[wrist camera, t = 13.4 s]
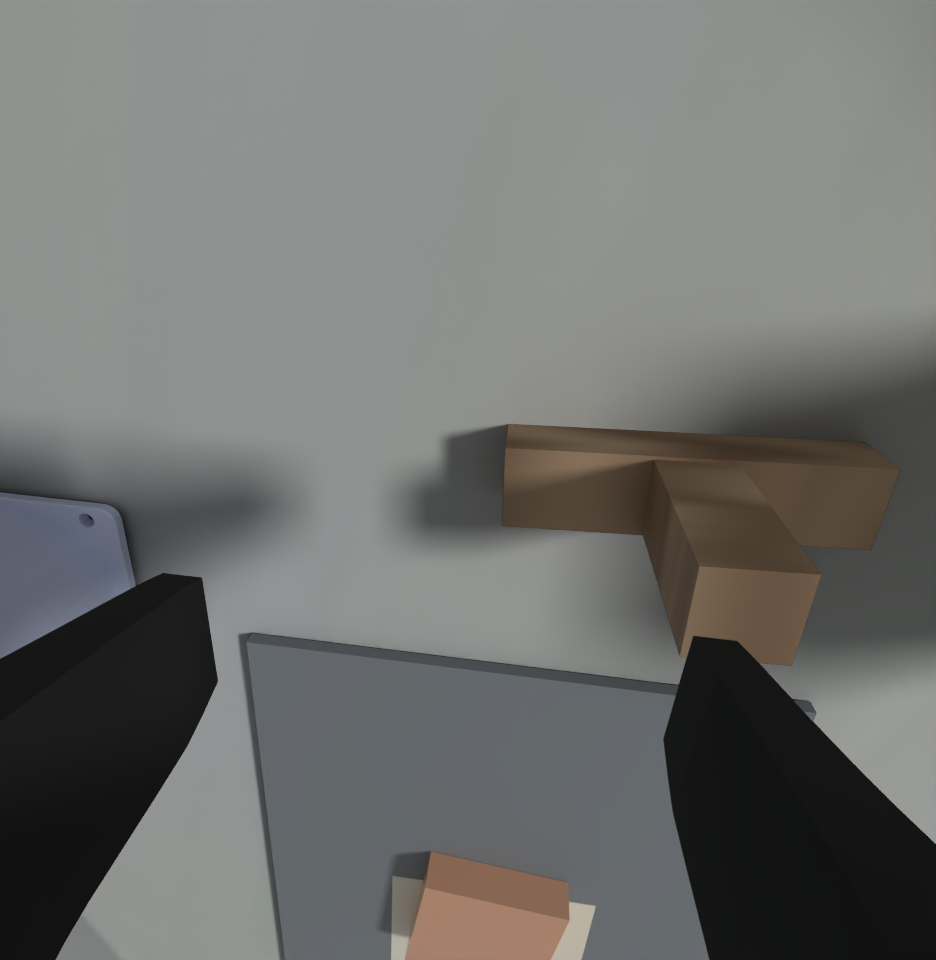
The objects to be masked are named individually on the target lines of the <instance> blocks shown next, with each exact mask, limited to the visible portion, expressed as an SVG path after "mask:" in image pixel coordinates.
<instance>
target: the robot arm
mask: <svg viewBox="0 0 936 960" xmlns="http://www.w3.org/2000/svg"><path fill="white" fill-rule="evenodd" d="M87 514H88V515H90V516H91V517H92V518H93V520H94V521H92V520H91V519H90V518H89V517H88V516H87ZM217 682H218V679H217V672H216V666H215V659H214V653H213V646H212V640H211V633H210V627H209V620H208V614H207V607H206V601H205V594H204V588H203V581H202V578H200V577H191V576H183V575H175V574H166V573H162V574H160V575H158V576H156V577H153V578H151V579H149V580H147V581H145V582H143V583H141V584H139V585H137V586H136V584H135V579H134V575H133V570H132V565H131V561H130V556H129V551H128V546H127V542H126V537H125V532H124V528H123V523H122V518H121V516H120V514H119V512H118V511H117V510H116V509H115V508H113V507H112V506H110V505H106V504H100V503H91V502H82V501H73V500H64V499H55V498H46V497H37V496H28V495H19V494H10V493H1V492H0V960H55V959H56V958H57V956H58V954H59V952H60V950H61V948H62V946H63V945H64V943H65V941H66V939H67V938H68V936H69V934H70V932H71V931H72V929H73V927H74V926H75V924H76V922H77V921H78V919H79V917H80V916H81V914H82V912H83V910H84V909H85V907H86V905H87V904H88V902H89V900H90V899H91V897H92V896H93V894H94V893H95V891H96V889H97V888H98V886H99V885H100V883H101V882H102V880H103V879H104V877H105V875H106V874H107V872H108V871H109V869H110V868H111V866H112V864H113V863H114V861H115V860H116V858H117V857H118V855H119V853H120V852H121V850H122V849H123V847H124V846H125V844H126V842H127V841H128V839H129V838H130V836H131V835H132V833H133V831H134V830H135V828H136V827H137V825H138V824H139V822H140V821H141V819H142V817H143V816H144V814H145V813H146V811H147V810H148V808H149V806H150V805H151V803H152V802H153V800H154V799H155V797H156V795H157V794H158V792H159V791H160V789H161V787H162V786H163V784H164V783H165V781H166V779H167V778H168V776H169V775H170V773H171V772H172V770H173V768H174V767H175V765H176V764H177V762H178V760H179V759H180V757H181V755H182V754H183V752H184V750H185V749H186V747H187V746H188V744H189V742H190V740H191V738H192V735H193V733H194V731H195V729H196V727H197V725H198V723H199V721H200V719H201V717H202V715H203V713H204V711H205V709H206V706H207V704H208V702H209V700H210V698H211V695H212V693H213V691H214V689H215V687H216V684H217ZM663 741H664V750H665V758H666V767H667V775H668V783H669V790H670V797H671V804H672V811H673V815H674V820H675V824H676V828H677V832H678V836H679V840H680V845H681V849H682V853H683V857H684V861H685V865H686V869H687V873H688V877H689V881H690V885H691V889H692V893H693V897H694V901H695V905H696V909H697V913H698V917H699V921H700V925H701V929H702V933H703V937H704V941H705V944H706V948H707V952H708V956H709V960H936V844H935V843H934V842H933V841H932V840H931V839H930V838H929V837H928V836H927V835H926V834H925V833H923V832H922V831H921V830H920V829H919V828H918V827H917V826H916V825H915V824H914V823H913V822H912V821H911V820H910V819H909V818H908V817H907V816H906V815H905V814H903V813H902V812H901V811H900V810H899V809H898V808H897V807H896V806H895V805H894V804H893V803H892V802H891V801H890V800H889V799H888V798H887V797H886V796H885V795H884V794H883V793H882V792H881V791H880V790H879V789H878V788H877V787H876V786H875V785H874V784H873V783H872V782H871V781H870V780H869V779H868V778H867V777H866V776H865V775H864V774H863V773H862V772H861V771H860V770H859V769H858V768H857V767H856V766H855V765H854V764H853V763H852V762H851V761H850V760H849V759H848V758H847V757H846V756H845V754H844V753H843V752H842V751H841V750H840V749H839V748H838V747H837V746H836V745H835V744H834V743H833V742H832V741H831V740H830V739H829V738H828V737H827V736H826V735H825V734H824V733H823V732H822V730H821V729H820V728H819V727H818V726H817V725H816V724H815V723H814V722H813V721H812V720H811V719H810V718H809V717H808V716H807V715H806V713H805V712H804V711H803V710H802V709H801V708H800V707H799V706H798V705H797V704H796V703H795V702H794V701H793V699H792V698H791V697H790V696H789V695H788V694H787V693H786V692H785V691H784V690H783V689H782V688H781V687H780V685H779V684H778V683H777V682H776V681H775V680H774V679H773V678H772V677H771V676H770V675H769V674H768V672H767V671H766V670H765V669H764V668H763V667H762V666H761V665H760V664H759V663H758V662H757V661H756V660H755V658H754V657H753V656H752V655H751V654H750V653H749V652H748V651H747V650H746V649H745V648H744V647H743V646H742V645H741V644H740V643H739V642H738V641H734V640H726V639H717V638H709V637H700V636H693V638H692V642H691V645H690V648H689V652H688V655H687V659H686V662H685V666H684V669H683V673H682V676H681V679H680V683H679V686H678V690H677V693H676V697H675V700H674V704H673V707H672V710H671V714H670V717H669V721H668V724H667V728H666V731H665V734H664V738H663Z"/></svg>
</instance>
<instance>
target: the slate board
mask: <svg viewBox="0 0 936 960" xmlns="http://www.w3.org/2000/svg"><path fill="white" fill-rule="evenodd" d="M246 644H247V652H248V660H249V668H250V677H251V685H252V693H253V701H254V709H255V718H256V726H257V734H258V742H259V750H260V759H261V767H262V775H263V783H264V791H265V800H266V808H267V816H268V824H269V833H270V841H271V849H272V857H273V865H274V874H275V882H276V890H277V898H278V906H279V915H280V923H281V931H282V939H283V947H284V956H285V960H405V955H406V949H407V944H408V938H409V932H410V927H411V923H412V920H413V916H414V912H415V909H416V905H417V901H418V898H419V894H420V890H421V886H422V883H423V879H424V875H425V872H426V868H427V864H428V861H429V857H430V853H431V852H436V853H440V854H444V855H449V856H453V857H458V858H462V859H466V860H471V861H475V862H480V863H484V864H488V865H493V866H497V867H502V868H506V869H510V870H515V871H519V872H524V873H528V874H532V875H537V876H541V877H546V878H550V879H554V880H559V881H563V882H568V895H569V917H570V921H569V923H568V925H567V927H566V929H565V931H564V933H563V935H562V938H561V940H560V942H559V944H558V946H557V948H556V950H555V952H554V954H553V956H552V958H551V960H709V956H708V952H707V948H706V944H705V941H704V937H703V933H702V929H701V925H700V921H699V917H698V913H697V909H696V905H695V901H694V897H693V893H692V889H691V885H690V881H689V877H688V873H687V869H686V865H685V861H684V857H683V853H682V849H681V845H680V840H679V836H678V832H677V828H676V824H675V820H674V815H673V811H672V804H671V797H670V790H669V783H668V775H667V767H666V758H665V750H664V741H663V738H664V734H665V731H666V728H667V724H668V721H669V717H670V714H671V710H672V707H673V704H674V700H675V697H676V693H677V690H678V686H677V685H669V684H661V683H653V682H645V681H637V680H628V679H620V678H612V677H604V676H596V675H588V674H580V673H572V672H564V671H555V670H547V669H539V668H531V667H523V666H515V665H507V664H499V663H491V662H483V661H474V660H466V659H458V658H450V657H442V656H434V655H426V654H418V653H410V652H401V651H393V650H385V649H377V648H369V647H361V646H353V645H345V644H337V643H328V642H320V641H312V640H304V639H296V638H288V637H280V636H272V635H264V634H256V633H252V634H251V636H250V637H249V639H248V640H247V642H246ZM793 701H794V702H795V703H796V704H797V705H798V706H799V707H800V708H801V709H802V710H803V711H804V712H805V713H806V715H807V716H808V717H809V718H810V719H811V720H812V721H813V720H814V718H815V715H816V711H815V709H814V707H813V706H812V704H811V702H807V701H799V700H793Z"/></svg>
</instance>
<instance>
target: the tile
mask: <svg viewBox="0 0 936 960" xmlns="http://www.w3.org/2000/svg"><path fill="white" fill-rule="evenodd" d="M569 921H570V917H569V895H568V882H563V881H559V880H554V879H550V878H546V877H541V876H537V875H532V874H528V873H524V872H519V871H515V870H510V869H506V868H502V867H497V866H493V865H488V864H484V863H480V862H475V861H471V860H466V859H462V858H458V857H453V856H449V855H444V854H440V853H436V852H431V853H430V857H429V861H428V864H427V868H426V872H425V875H424V879H423V883H422V886H421V890H420V894H419V898H418V901H417V905H416V909H415V912H414V916H413V920H412V923H411V927H410V932H409V938H408V944H407V949H406V955H405V960H551V958H552V956H553V954H554V952H555V950H556V948H557V946H558V944H559V942H560V940H561V938H562V935H563V933H564V931H565V929H566V927H567V925H568V923H569Z"/></svg>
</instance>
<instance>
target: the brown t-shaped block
mask: <svg viewBox="0 0 936 960" xmlns="http://www.w3.org/2000/svg"><path fill="white" fill-rule="evenodd" d="M900 470H901V469H899V468H898V467H897V466H895V465H894V464H893V463H891V462H890V461H889V460H888V459H886V458H885V457H884V456H882V455H881V454H880V453H879V452H877V451H876V450H875V449H873V448H872V447H871V446H870V445H868V444H867V443H866V442H852V441H833V440H813V439H793V438H774V437H754V436H735V435H715V434H695V433H676V432H656V431H637V430H617V429H597V428H578V427H558V426H539V425H519V424H508V431H507V439H506V447H505V467H504V489H503V510H502V526H510V527H525V528H540V529H556V530H571V531H586V532H602V533H617V534H632V535H643V537H644V540H645V543H646V547H647V550H648V553H649V557H650V560H651V563H652V566H653V570H654V573H655V576H656V580H657V583H658V586H659V589H660V593H661V596H662V599H663V603H664V606H665V609H666V612H667V616H668V619H669V622H670V626H671V629H672V632H673V636H674V639H675V642H676V645H677V649H678V652H679V655H680V657H687V655H688V652H689V648H690V645H691V642H692V638H693V636H700V637H709V638H717V639H726V640H734V641H738V642H739V643H740V644H741V645H742V646H743V647H744V648H745V649H746V650H747V651H748V652H749V653H750V654H751V655H752V656H753V657H754V658H755V660H756V661H757V662H758V663H764V664H777V665H789V666H792V664H793V661H794V658H795V655H796V652H797V649H798V646H799V642H800V639H801V636H802V633H803V630H804V627H805V624H806V621H807V618H808V615H809V612H810V608H811V605H812V602H813V599H814V596H815V593H816V590H817V587H818V584H819V581H820V578H821V574H820V572H819V571H818V569H817V568H816V567H815V565H814V564H813V563H812V561H811V560H810V559H809V557H808V556H807V554H806V553H805V552H804V550H803V549H802V548H801V546H816V547H831V548H846V549H862V550H872V548H873V545H874V542H875V539H876V536H877V534H878V531H879V528H880V525H881V523H882V520H883V517H884V514H885V511H886V509H887V506H888V503H889V500H890V498H891V495H892V492H893V489H894V486H895V484H896V481H897V478H898V475H899V473H900Z"/></svg>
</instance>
